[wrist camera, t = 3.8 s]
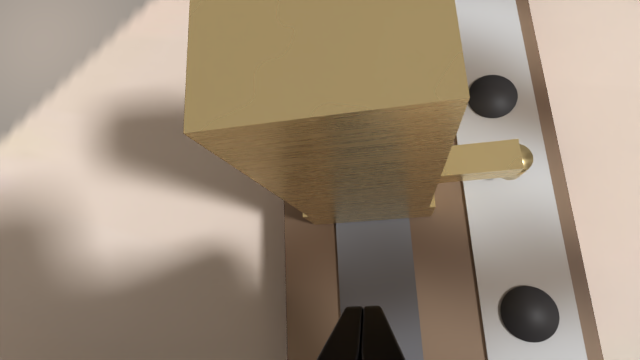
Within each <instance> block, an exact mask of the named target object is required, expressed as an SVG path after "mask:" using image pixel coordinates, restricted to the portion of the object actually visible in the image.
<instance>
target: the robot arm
mask: <svg viewBox="0 0 640 360" xmlns="http://www.w3.org/2000/svg"><path fill="white" fill-rule="evenodd" d="M316 360H406V359H405V357H404V355H403V353H402V351H401V348H400V346H399V344H398V342H397V340H396V338H395V336H394V333H393V331H392V329H391V327H390V325H389V323H388V320H387V318H386V316H385V314H384V312H383V310H382V308H381V307H380V306H365V307H364V309H363V307H361V306H349V307H346V308H345V309H344V311H343V313H342V315H341V316H340V318H339V320H338V322H337V323H336V325H335V327H334V329H333V331H332V332H331V334H330V336H329V338H328V340H327V341H326V343H325V345H324V347H323V349H322V350H321V352H320V354H319V356H318V357H317V359H316Z"/></svg>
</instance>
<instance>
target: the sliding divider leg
mask: <svg viewBox="0 0 640 360" xmlns="http://www.w3.org/2000/svg"><path fill="white" fill-rule="evenodd" d="M469 99H470V95H469V89H468V82H467V76H466V69H465V63H464V56H463V50H462V43H461V37H460V30H459V24H458V17H457V11H456V4H455V0H190V8H189V28H188V49H187V69H186V89H185V109H184V129H183V133H184V134H185V135H187V136H188V137H190V138H191V139H193V140H194V141H196V142H197V143H199V144H200V145H202V146H203V147H205V148H206V149H208V150H209V151H211V152H212V153H214V154H215V155H217V156H218V157H220V158H221V159H223V160H224V161H226V162H227V163H229V164H230V165H232V166H233V167H235V168H236V169H238V170H239V171H241V172H242V173H244V174H245V175H247V176H248V177H250V178H251V179H253V180H254V181H256V182H257V183H259V184H260V185H262V186H263V187H265V188H266V189H268V190H269V191H271V192H272V193H274V194H275V195H277V196H278V197H280V198H281V199H283V200H284V201H286V202H287V203H289V204H290V205H292V206H293V207H295V208H296V209H298V210H299V211H301V212H302V213H303V217H304V218H305V219H307V220H308V221H310V222H312V223H313V224H315V225H319V224H333V223H346V222H360V221H374V220H388V219H402V218H416V217H429V216H432V214H433V212H434V209H435V207H436V205H435V197H434V193H435V191H436V188H437V185H438V183H446V182H458V181H469V180H481V179H492V178H503V179H505V180H514V179H517V178H519V177H520V176H521V175H522V174H523V173H525V172H526V171H527V170H528V169H529V168H530V167H531V165H532V163H533V154H532V152H531V151H530V150H529V149H528V148H527V147H526V146H524V145H521V144H519V139H511V140H501V141H491V142H482V143H472V144H462V145H453V142H454V139H455V137H456V134H457V131H458V128H459V126H460V123H461V120H462V118H463V115H464V112H465V110H466V107H467V104H468V101H469ZM452 145H453V146H452Z"/></svg>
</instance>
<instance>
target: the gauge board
mask: <svg viewBox="0 0 640 360" xmlns="http://www.w3.org/2000/svg"><path fill="white" fill-rule="evenodd" d="M455 4H456V11H457V17H458V24H459V30H460V37H461V43H462V50H463V56H464V63H465V69H466V76H467V82H468V89H469V95H470V99H469V101H468V104H467V107H466V110H465V112H464V115H463V118H462V120H461V123H460V126H459V128H458V131H457V134H456V137H455V139H454V142H453V145H462V144H472V143H482V142H491V141H501V140H511V139H519V144H521V145H524V146H526V147H527V148H528V149H529V150H530V151H531V152H532V154H533V163H532V165H531V167H530V168H529V169H528V170H527V171H526V172H525V173H523V174H522V175H521V176H520V177H519V178H517V179H514V180H505V179H503V178H492V179H481V180H469V181H458V182H446V183H438V185H437V188H436V191H435V193H434V197H435V205H436V207H435V209H434V212H433V214H432V216H429V217H416V218H402V219H388V220H374V221H360V222H346V223H333V224H319V225H315V224H313V223H312V222H310V221H308V220H307V219H305V218H304V217H303V213H302V212H301V211H299V210H298V209H296V208H295V207H293V206H292V205H290V204H289V203H287V202H286V201H284V217H285V267H286V318H287V360H316V359H317V357H318V356H319V354H320V352H321V350H322V349H323V347H324V345H325V343H326V341H327V340H328V338H329V336H330V334H331V332H332V331H333V329H334V327H335V325H336V323H337V322H338V320H339V318H340V316H341V315H342V313H343V311H344V309H345V308H346V307H349V306H361V307H363V309H364V307H365V306H380V307H381V308H382V310H383V312H384V314H385V316H386V318H387V320H388V323H389V325H390V327H391V329H392V331H393V333H394V336H395V338H396V340H397V342H398V344H399V346H400V348H401V351H402V353H403V355H404V357H405V359H406V360H604V359H603V355H602V350H601V345H600V340H599V336H598V331H597V326H596V321H595V317H594V312H593V307H592V302H591V298H590V293H589V288H588V283H587V279H586V274H585V269H584V264H583V260H582V255H581V250H580V245H579V241H578V236H577V231H576V226H575V221H574V217H573V212H572V207H571V202H570V198H569V193H568V188H567V183H566V179H565V174H564V169H563V164H562V160H561V155H560V150H559V145H558V141H557V136H556V131H555V126H554V122H553V117H552V112H551V107H550V103H549V98H548V93H547V88H546V84H545V79H544V74H543V69H542V65H541V60H540V55H539V50H538V46H537V41H536V36H535V31H534V27H533V22H532V17H531V12H530V8H529V3H528V0H455ZM453 145H452V146H453Z"/></svg>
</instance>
